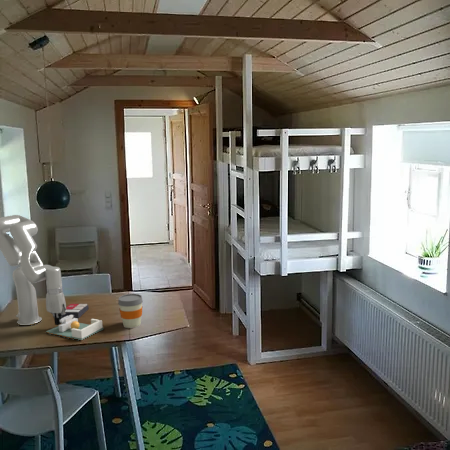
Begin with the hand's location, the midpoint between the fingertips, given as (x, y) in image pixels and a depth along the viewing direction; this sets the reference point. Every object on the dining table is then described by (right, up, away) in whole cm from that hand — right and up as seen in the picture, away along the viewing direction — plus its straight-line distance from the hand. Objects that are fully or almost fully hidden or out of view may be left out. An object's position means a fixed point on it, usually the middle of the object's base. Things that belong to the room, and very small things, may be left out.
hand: (58, 324), depth 253 cm
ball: (+10, 0, -6) cm, 12 cm away
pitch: (+10, -3, -5) cm, 12 cm away
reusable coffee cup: (+38, -1, +2) cm, 38 cm away
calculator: (+2, +1, +22) cm, 22 cm away
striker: (+6, -1, -3) cm, 7 cm away
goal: (+18, -2, -9) cm, 20 cm away
